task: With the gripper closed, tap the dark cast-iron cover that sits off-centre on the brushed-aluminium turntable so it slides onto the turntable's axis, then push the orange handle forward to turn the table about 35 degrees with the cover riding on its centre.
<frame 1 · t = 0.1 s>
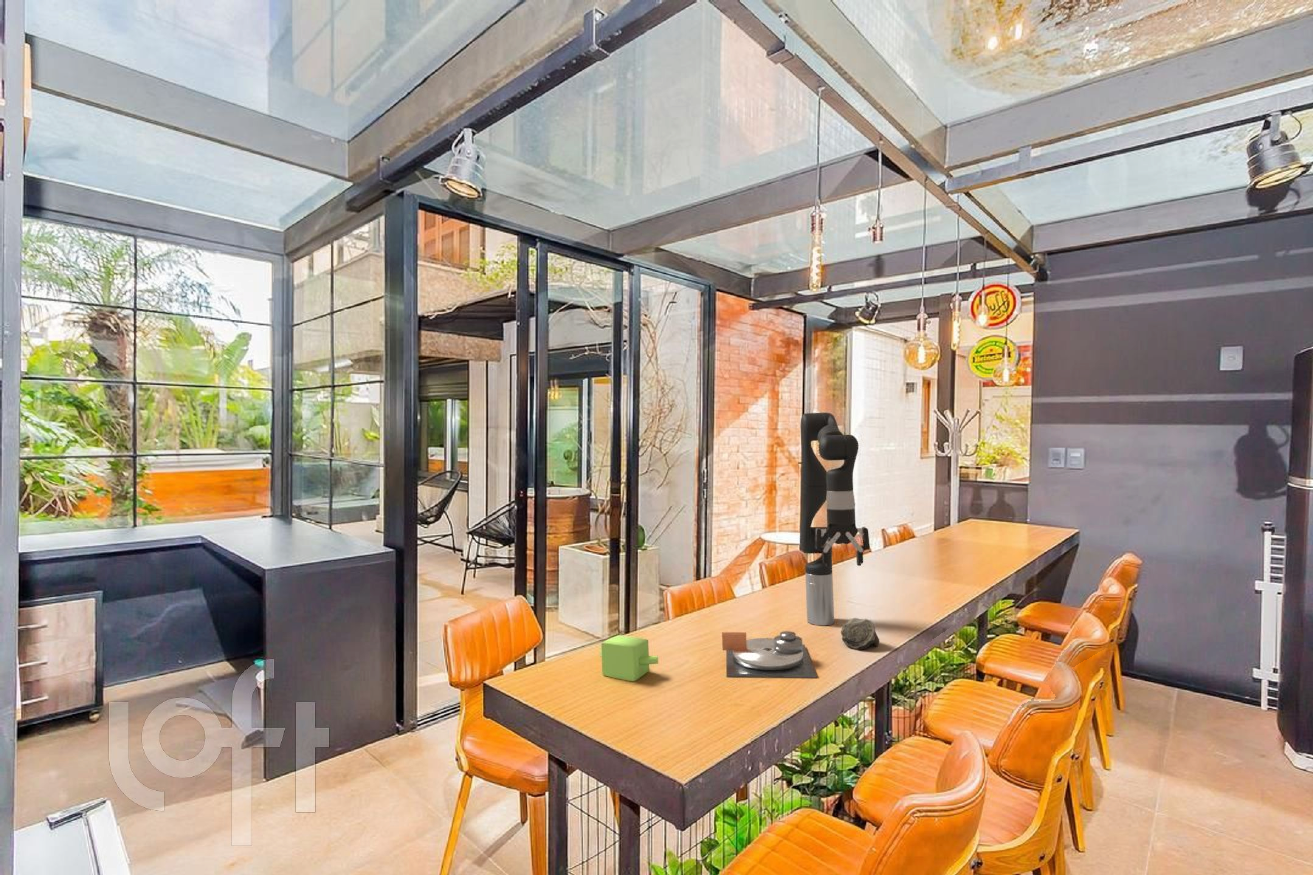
hand: (842, 565, 162), 29 cm above the table, tool pointing down, fingers open, 8 cm apart
fossil: (859, 646, 182), on the table
gearbox: (630, 673, 166), on the table
cover: (788, 649, 170), point 3 cm above the table, touching turntable
turntable base: (767, 660, 171), on the table
turntable: (762, 645, 171), point 5 cm above the table, hinge at 0.0°, touching cover
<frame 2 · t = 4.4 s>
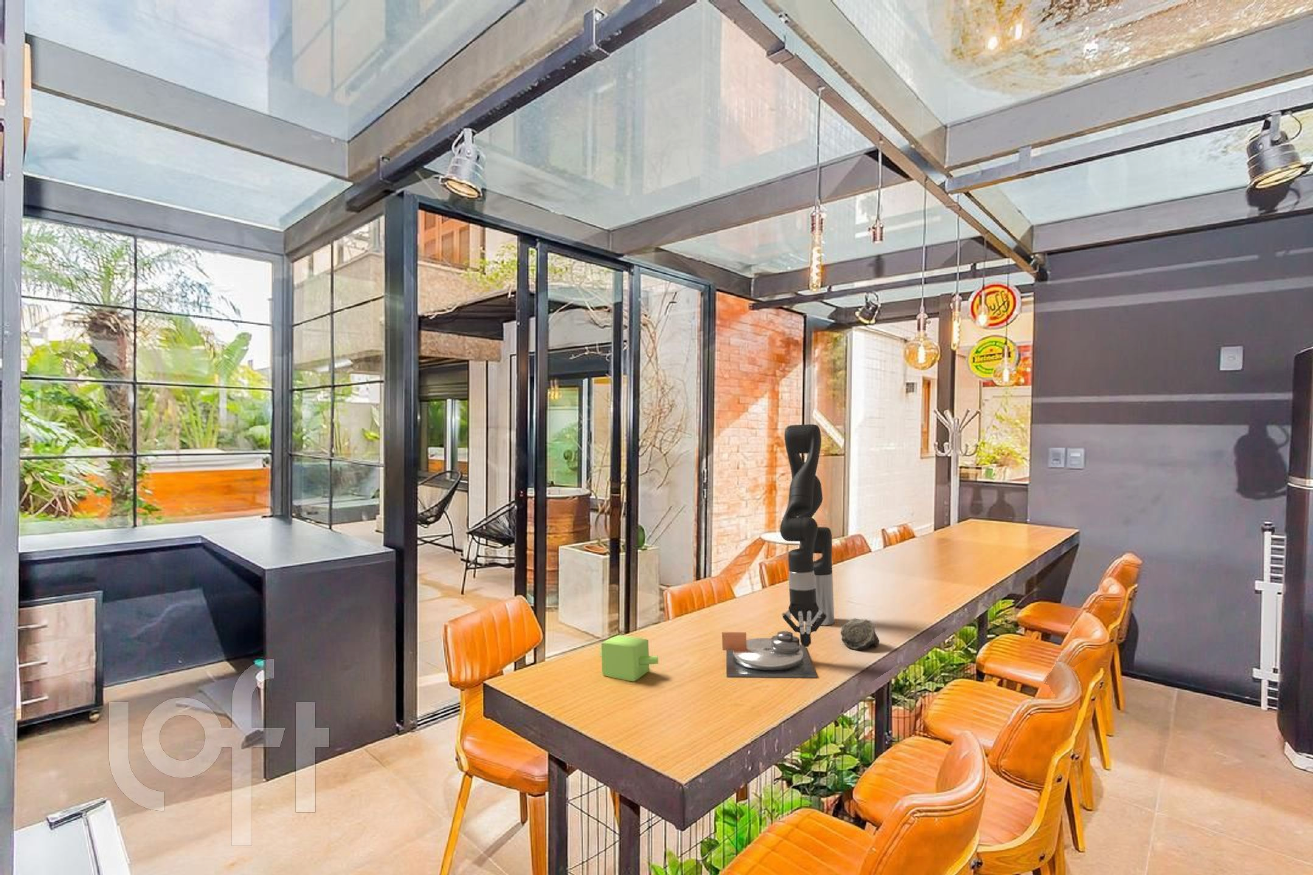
hand: (805, 645, 170), 5 cm above the table, tool pointing down, fingers closed
cover: (785, 649, 171), point 3 cm above the table, touching gripper, turntable
everything else where it was.
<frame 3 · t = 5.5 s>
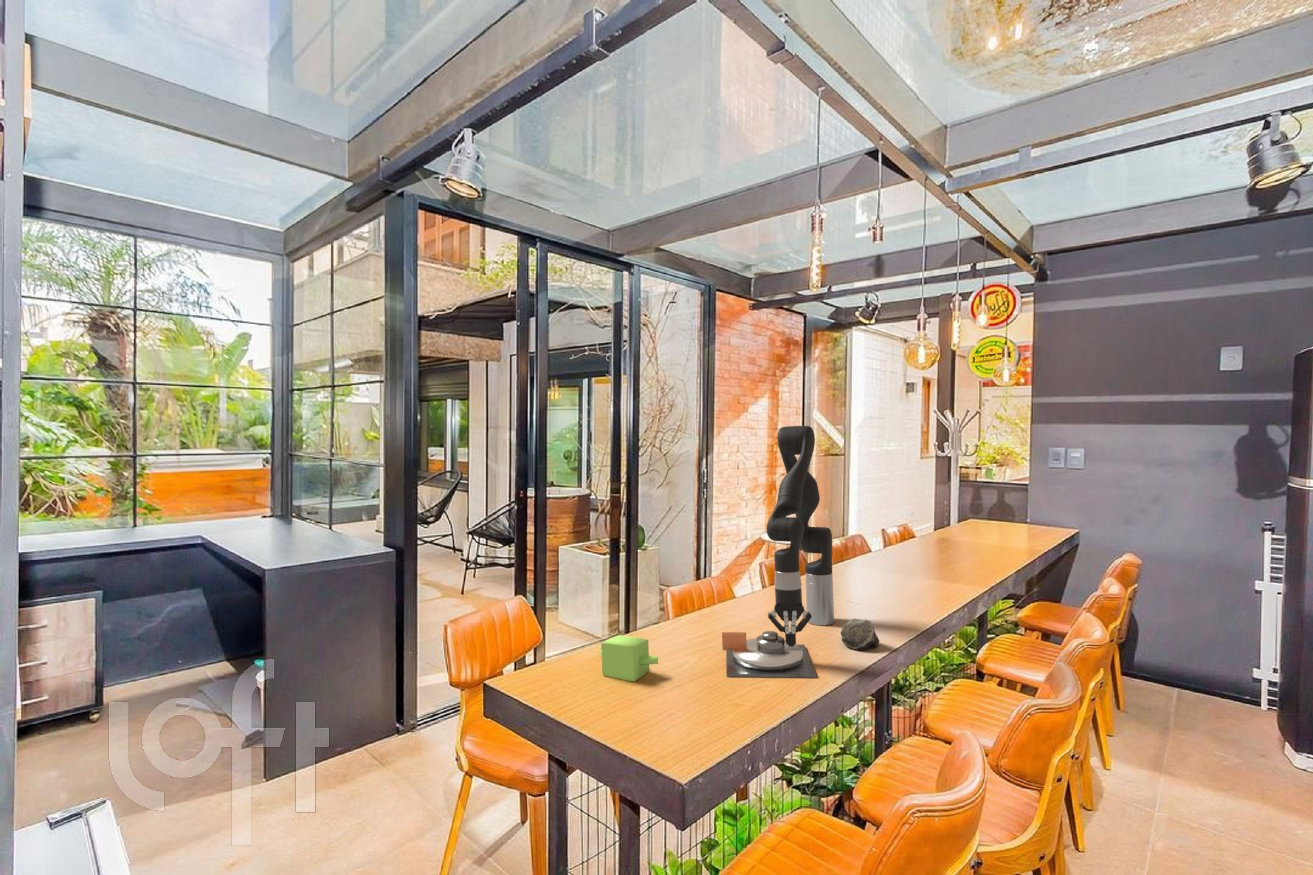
hand: (790, 645, 170), 5 cm above the table, tool pointing down, fingers closed
cover: (770, 649, 171), point 3 cm above the table, touching gripper, turntable
everything else where it was.
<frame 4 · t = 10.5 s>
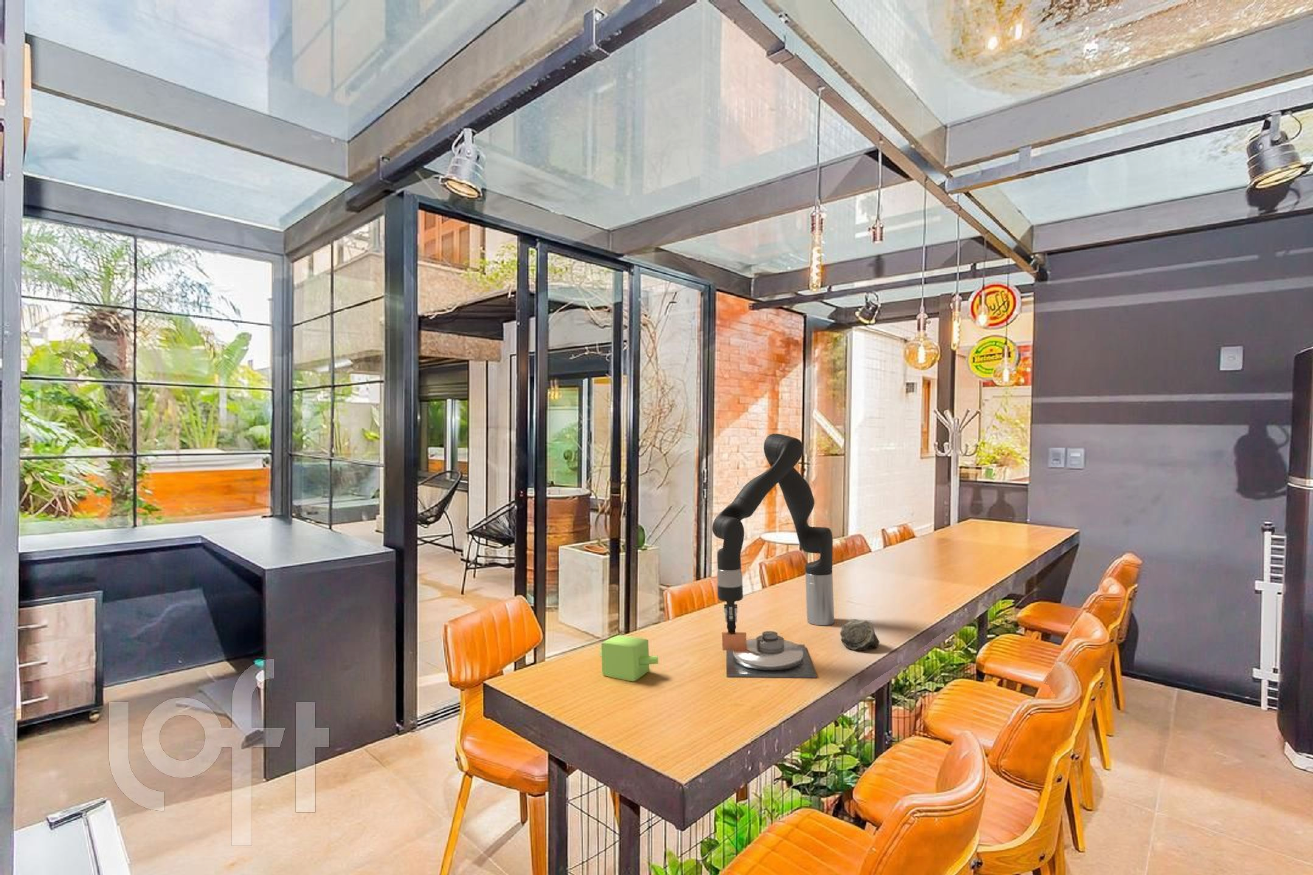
hand: (731, 640, 176), 5 cm above the table, tool pointing down, fingers closed
cover: (770, 649, 171), point 3 cm above the table, touching turntable
turntable: (762, 645, 171), point 5 cm above the table, hinge at 0.2°, touching cover, gripper
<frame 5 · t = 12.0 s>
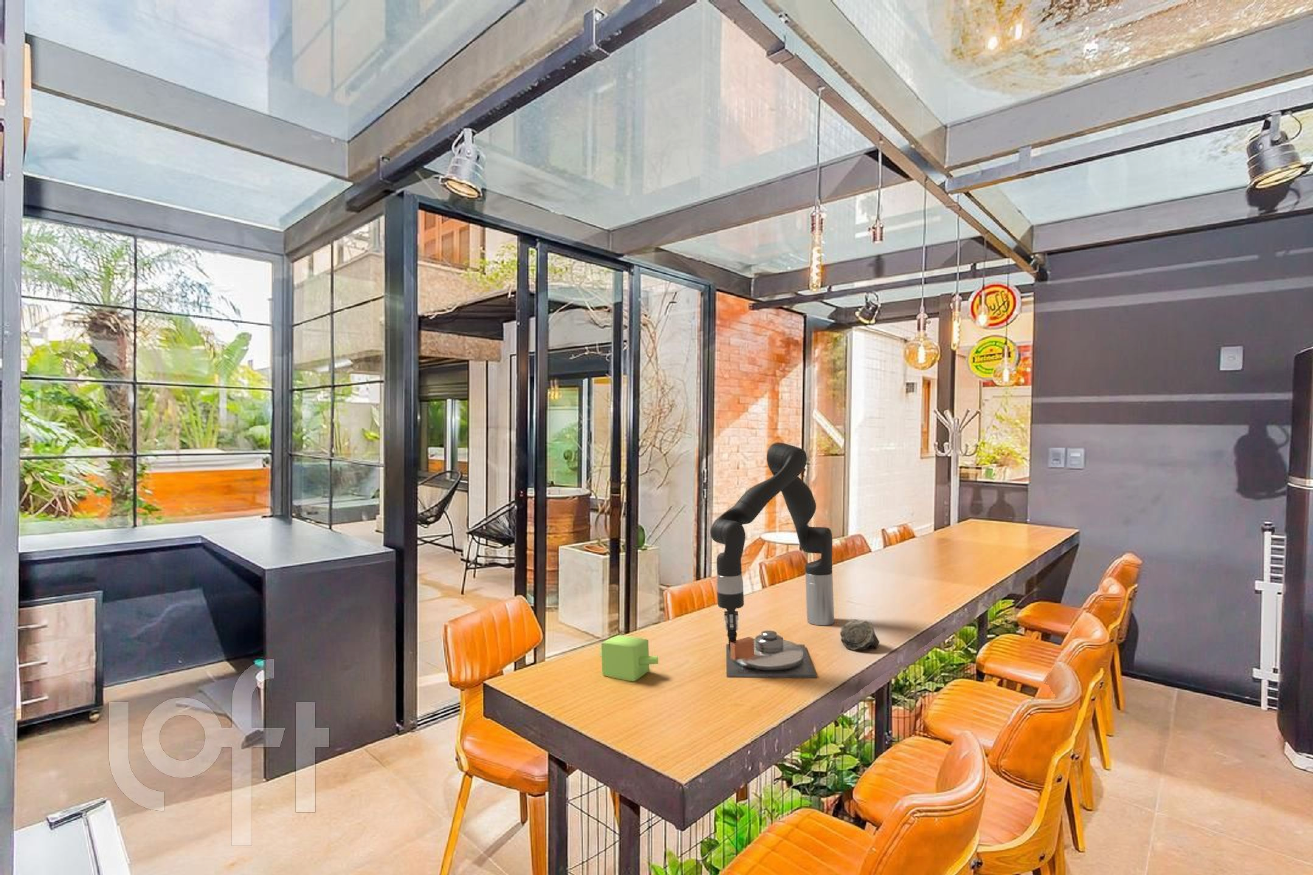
hand: (732, 649, 169), 5 cm above the table, tool pointing down, fingers closed
turntable: (763, 646, 170), point 5 cm above the table, hinge at 39.2°, touching cover, gripper
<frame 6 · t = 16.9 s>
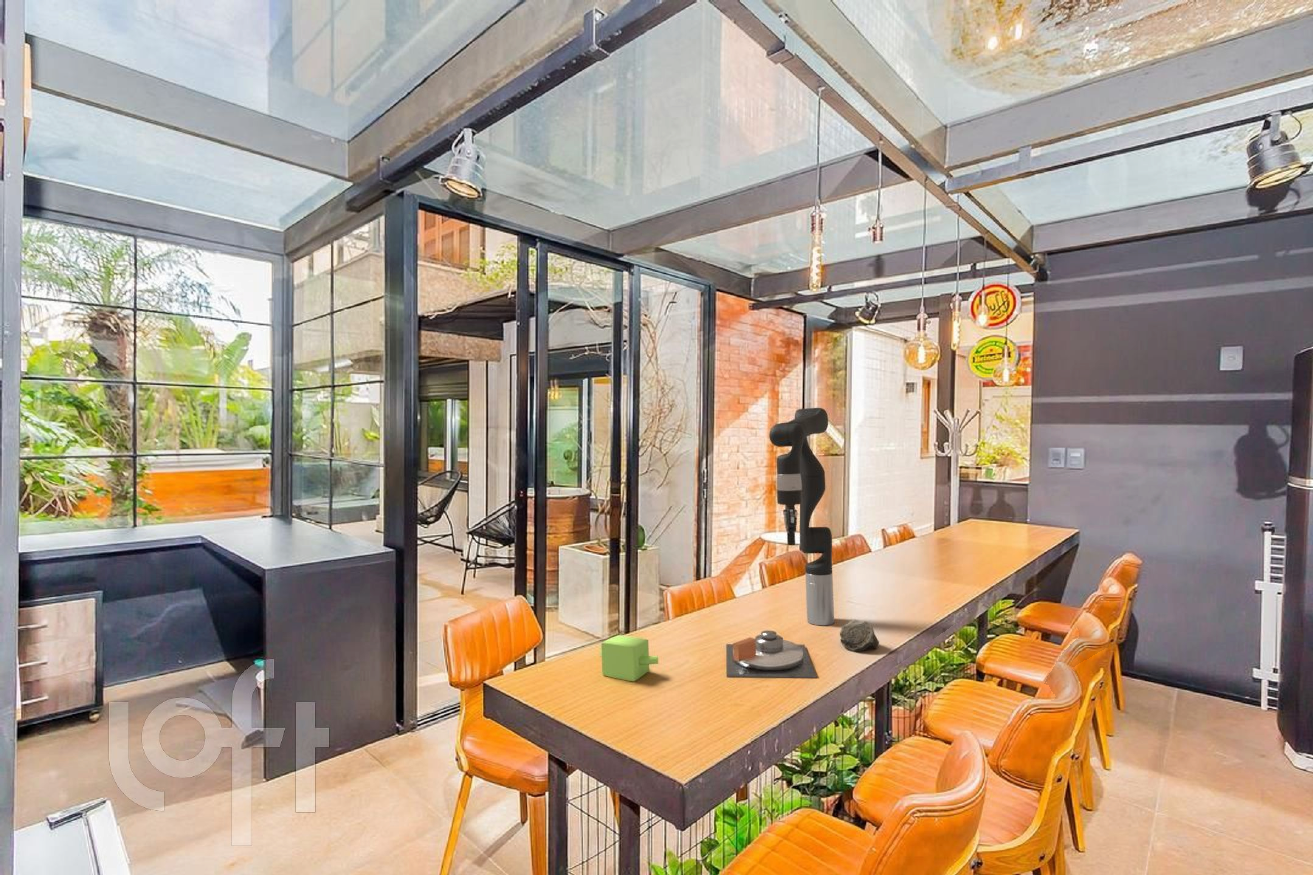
hand: (791, 544, 180), 32 cm above the table, tool pointing down, fingers closed
turntable: (763, 646, 170), point 5 cm above the table, hinge at 45.1°, touching cover
at the end: cover 0.9 cm from the turntable (horizontally); turntable at +45° (first picture: +0°); cover tilted 0° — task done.
